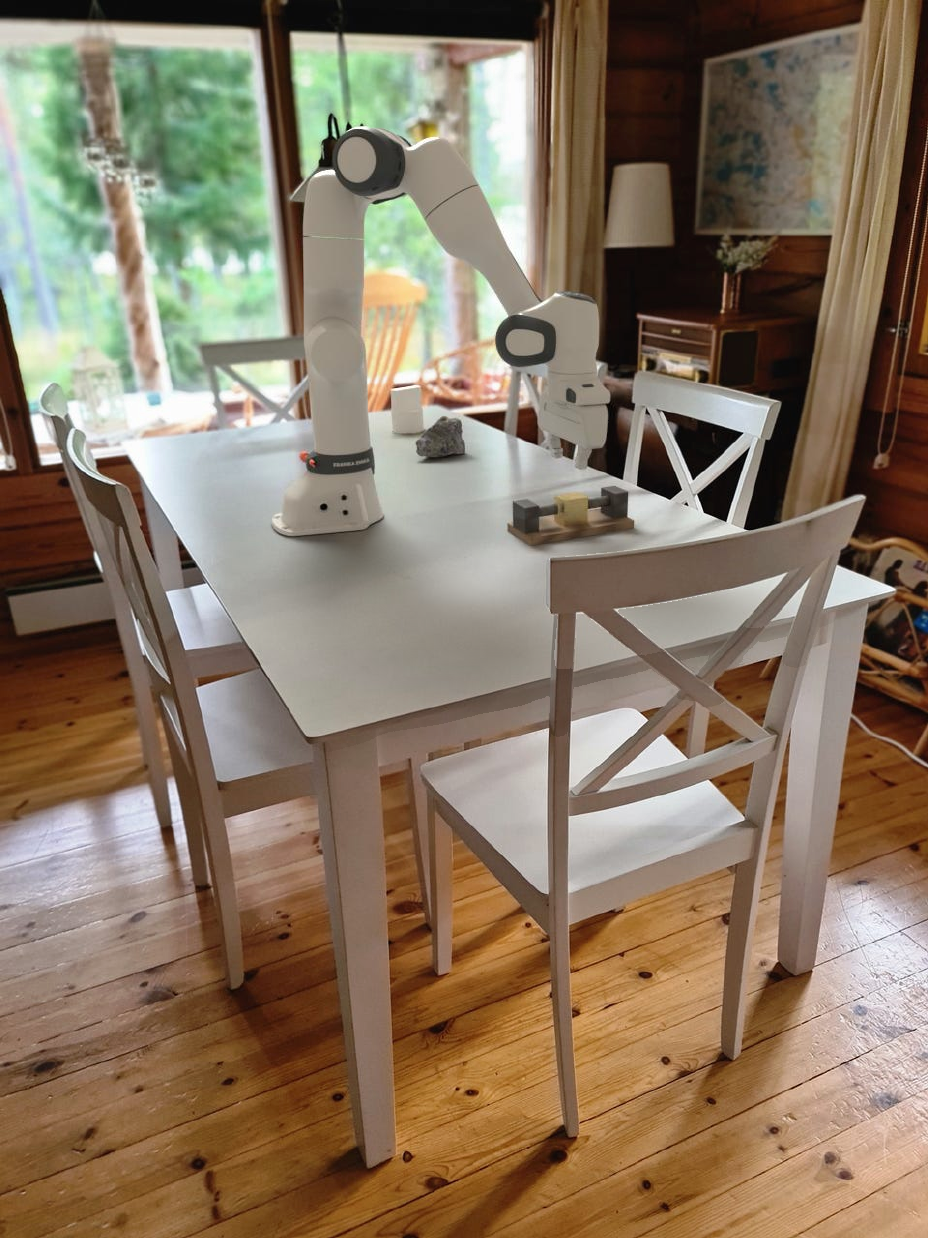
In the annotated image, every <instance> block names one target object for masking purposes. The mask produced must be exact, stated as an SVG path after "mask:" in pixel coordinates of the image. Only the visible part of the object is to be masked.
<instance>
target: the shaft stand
mask: <svg viewBox="0 0 928 1238" xmlns="http://www.w3.org/2000/svg"><path fill="white" fill-rule="evenodd" d="M628 508H629V491H627V490H626V489H623V488H621V487H619V486H617V485H612V486H611V485H609V486H603V487H601V488H600V496H596V497H588V522H587V523H582V524H576V525H570V526H562V525H561V524H559V523H557V522H555V521H554V515H556V514H558V506H557V505H556V504H554V503H551V504H546V505H539V504H537V503H535V502H533V501H531V500H529V499H528V498H525V499H518V500H512V522H508V523H507V531H508V532H509V533H511V534H512V535H514V536H515V537H517V538H518V539H519V540H521V541H523V542H524V543H526V544H527V545H529V546H531V547H532V546H537V545H543V544H549V543H554V542H561V541H567V540H572V539H577V538H578V539H579V538H584V537H588V536H589V537H590V536H594V535H596V536H597V535H601V534H605V533H606V534H607V533H613V532H619V531H624V530H629V529H634V528H635V520H634V519H633V518H631V517H628V513H629V509H628Z"/></svg>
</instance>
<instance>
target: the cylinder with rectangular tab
mask: <svg viewBox="0 0 928 1238" xmlns="http://www.w3.org/2000/svg"><path fill="white" fill-rule="evenodd" d="M390 399H391V402H390V403H391V412H390V413H391V426H392V427H391V429H392V432H393V431H395V432H398V433H397V434H399V433H412V434H418V433H421V431H422V432H424V431H425V427H424V426H425V424H424V409H423V402H422V401H423V399H422V386H421V385H416V384H414V385H410V386H409V385H408V386H403V387H398V388H397V387H396V388H390ZM417 432H418V433H417Z"/></svg>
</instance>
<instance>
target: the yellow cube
mask: <svg viewBox="0 0 928 1238" xmlns="http://www.w3.org/2000/svg"><path fill="white" fill-rule="evenodd" d="M588 499H589V496H586V495H585V494H583V493H580V492H578V491H575V492H570V493H562V494H557V495H554V503H553V504H556V505H557V506H558V514H556V515H553V516H554V521H555V522H557V523H559V524H561V525H562V526H570V525H576V524H582V523H587V522H588V510H589V509H588Z"/></svg>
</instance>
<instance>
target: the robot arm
mask: <svg viewBox="0 0 928 1238" xmlns="http://www.w3.org/2000/svg"><path fill="white" fill-rule="evenodd" d="M331 161H332V162H331V163H332V168H333V169H327V170H321V171H320V172H318V173H315V174H313V176H311V178H310V180H309V181H308V183H307V186H306V193H305V199H304V207H303V220H302V221H303V222H302V247H303V248H302V251H303V253H302V254H303V255H302V256H303V257H302V258H303V259H302V261H303V264H302V265H303V347H304V351H305V352H304V353H305V354H304V355H305V360H306V361H305V362H306V370H307V371H306V372H307V380H308V381H307V382H308V392H309V393H308V394H309V404H310V415H311V416H310V417H311V425H312V426H311V427H312V435H313V436H312V437H313V446H314V449H313V450H312V451H311V452H310V453H309V452H308V451H305V450H302V451H300V453H299V454H298V455H299V456H298V458H299V459H300V461H301V462H302V463H304V464H305V467H306V471H305V472H303V474H301V476H299V477H298V478H297V479H296V480H295V481H294V482H293V483H292V484H291V485H290V486H289V487H287V488H286V489H285V490H284V492H283V495H282V500H281V512H279V513H275V514H274V515H273V516H272V517H271V525H272V528H273V529H274V530H275V531H276V532H277V533H279V534H282V535H284V536H287V537H297V536H298V537H299V536H311V535H320V534H331V533H341V532H352V531H362V530H366V529H368V528H369V526H370V525H372V524H374V523H376V522H378V521H380V520H381V519H382V518H383V517H384V510H383V509H382V506H381V502H380V499H379V496H378V491H377V486H376V483H375V471H376V470H375V469H376V464H375V461H376V460H375V454H374V448H373V446H371V434H370V422H369V421H370V420H369V409H368V408H369V405H368V399H369V398H368V395H369V394H368V375H367V374H368V370H367V365H368V364H367V350H366V349H367V348H366V344H365V341H364V339H363V337H362V319H363V318H362V317H363V315H362V314H363V299H364V288H365V218H366V213H367V210H368V208H369V206H370V205H375V206H376V205H379V204H383V203H385V202H389V201H393V200H396V199H398V198H400V197H402V196H405V195H407V196H409V198H410V199H411V200H412V201H413V203H414V204H415V205H416V207H417V209H418V210H419V212H420V214H421V216H422V218H423V220H424V222H425V223H426V224H425V225H426V226H427V227H428V229H429V231H430V232H431V234H432V236H433V238H434V239H435V240H436V241H437V243H438V244H439V245H440V246H441V247H442V249H443V250H444V251H445V252H446V253H447V254H448V255H449V256H451V257H453V258H455V259H457V260H460V261H461V262H463V263H466V264H467V265H469V266H471V267H472V268H474V269H476V271H478V272H479V273H480V274H481V275H482V276H483V278H485V280H486V281H487V282H488V284H489V286H490V288H491V289H492V291H493V293H494V294H495V296H496V297H497V299H498V301H499V302H500V304H501V306H502V307H503V309H504V310H505V312H506V314H507V317H506V318H504V319H503V320H502V321H501V323H500V324H499V325H498V327H497V329H496V331H495V336H494V345H495V348H496V352H497V354H498V356H499V357H500V359H502V361H503V362H505V364H507V365H509V366H512V367H516V368H521V369H526V368H529V367H533V366H537V365H541V364H542V365H546V366H547V377H546V378H547V380H546V381H547V382H546V384H545V385H544V386H543V391H542V392H541V393H540V395H539V401H538V402H539V403H538V408H537V409H538V410H537V425H538V428H539V429H540V430H541V431H544V432H546V433H548V434H547V437H548V438H547V439H548V442H549V445H550V456H551V458H554V459H562V458H563V456H564V448H563V447H562V443H561V439H562V440H565V441H568V442H569V443H572V444H574V445H576V446H577V451H578V455H577V458H574V468H576V469H578V470H580V471H582V470H587V467H588V460H589V458H590V456H591V453H593V452H592V451H593V450H594V449H601V448H604V446H605V444H606V442H607V433H608V423H609V421H608V420H609V411H608V407H607V405H606V404H609V403H610V401H611V392H610V390H609V389H607V387H606V386H605V385H604V384H603V383H602V382H601V379H599V378H598V366H597V361H596V358H597V352H598V348H599V343H600V316H599V314H600V313H599V308H598V305H597V304H598V303H597V302H596V301H595V299H593V298H592V297H591V296H589V295H587V294H584V293H580V292H578V291H577V292H575V291H568V290H559V291H556V292H554V294H552V295H551V296H550V297H548V298H546V299H545V300H542V299H541V298H540V297H539V295H537V293H536V291H535V290H534V289H533V287H532V285H531V283H530V282H529V280H528V278H527V277H526V275H525V273H524V271H523V269H522V268H521V266H520V265H519V263H518V261H517V259H516V258H515V256H514V254H513V253H512V251H511V249H510V248H509V246H508V244H507V241H506V239H505V237H504V235H503V233H502V231H501V228H500V226H499V224H498V222H497V219H496V217H495V215H494V212H493V211H492V209H491V206H490V204H489V202H488V199H487V198H486V196H485V194H484V193H485V192H483V190H482V188H481V186H480V184H479V182H478V181H477V179H476V177H475V176H474V173H473V172H472V170H471V169H470V167H469V166H468V164H467V163H466V162H465V160H464V158H463V157H462V155H461V154H460V153H459V152H458V150H457V149H456V148H455V146H453V144H452V143H451V142H450V141H449V140H448V139H446V138H445V137H441V136H431V137H426V138H424V139H422V140H420V141H419V142H417V143H416V144H414V145H412V144H411V143H410V142H409V141H408V140H407V139H406V138H404V137H403V136H401V135H399V134H396V133H395V132H392V131H390V130H389V129H388V130H387V129H386V128H385V129H384V128H380V127H376V128H374V127H371V126H365V125H364V126H363V125H362V126H357V127H353V128H350V129H349V130H346V131H345V132H344V133H343V134H341V135H340V137H339V138H338V139H337V141H336V143H335V144H334V147H333V150H332V160H331Z"/></svg>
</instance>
